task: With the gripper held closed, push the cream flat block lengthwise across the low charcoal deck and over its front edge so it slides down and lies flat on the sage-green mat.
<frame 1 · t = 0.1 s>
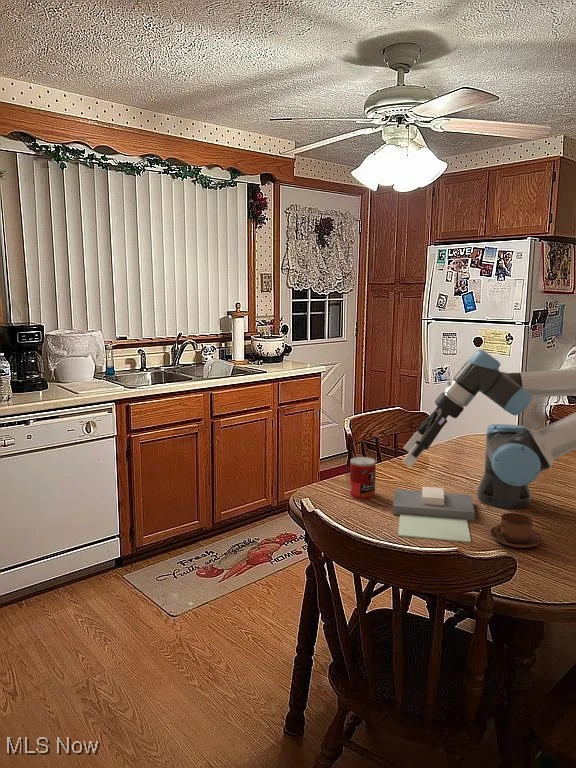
hand: (406, 457, 166), 15 cm above the table, tool tilted 35°, fingers open, 13 cm apart
sage mat: (433, 528, 154), on the table
charcoal deck: (432, 508, 168), on the table
canned food: (362, 495, 179), on the table
cream flat block: (432, 499, 168), point 2 cm above the table, touching charcoal deck
cup and saucer: (515, 542, 146), on the table
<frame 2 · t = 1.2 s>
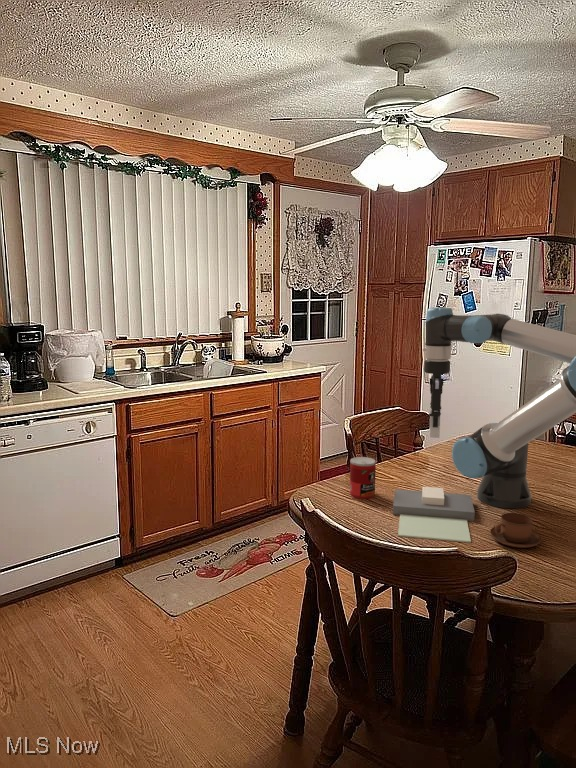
hand: (434, 433, 176), 19 cm above the table, tool pointing down, fingers open, 8 cm apart
nothing on the table moved.
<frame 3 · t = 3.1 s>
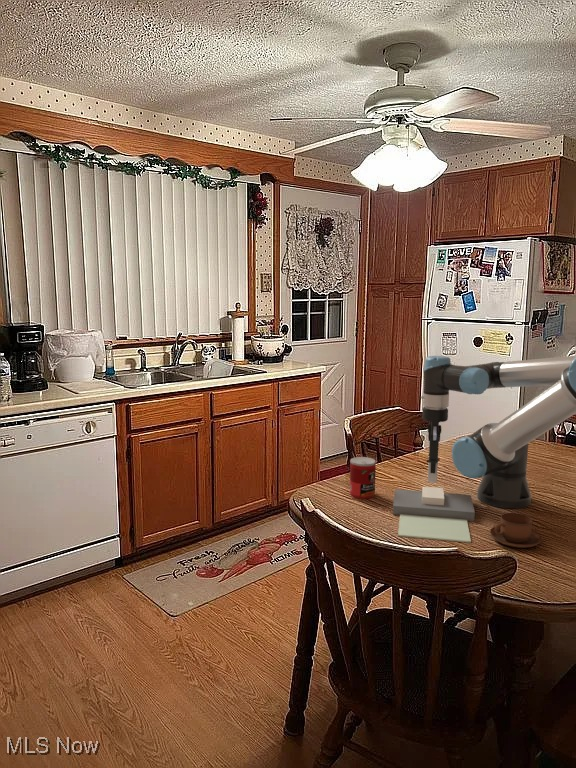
hand: (432, 482, 179), 4 cm above the table, tool pointing down, fingers closed
nothing on the table moved.
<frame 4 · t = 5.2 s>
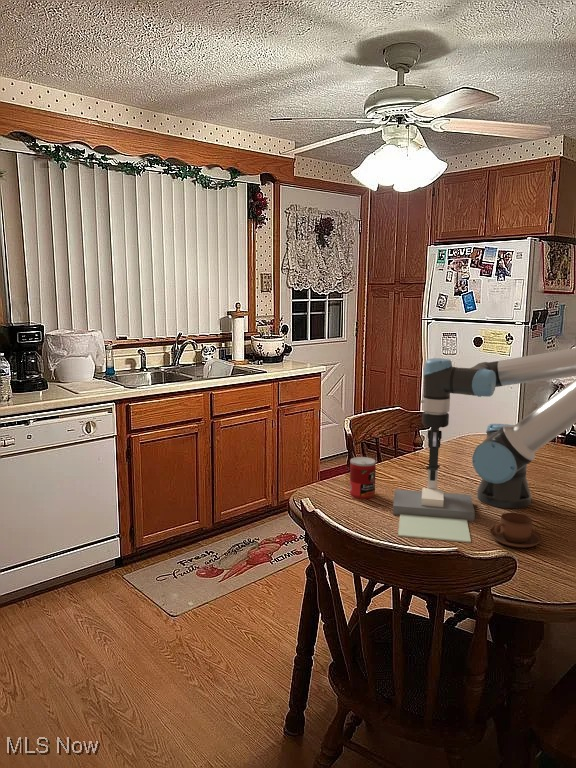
hand: (432, 489, 172), 4 cm above the table, tool pointing down, fingers closed
cream flat block: (432, 500, 167), point 3 cm above the table
everything else where it was.
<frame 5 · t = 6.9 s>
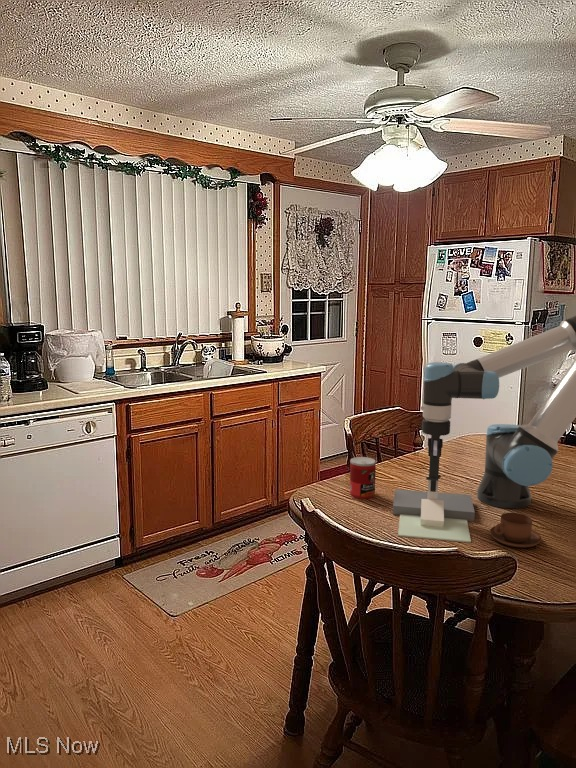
hand: (432, 501, 162), 4 cm above the table, tool pointing down, fingers closed
cream flat block: (432, 515, 158), point 2 cm above the table, tilted 17°, touching gripper, sage mat
everything else where it was.
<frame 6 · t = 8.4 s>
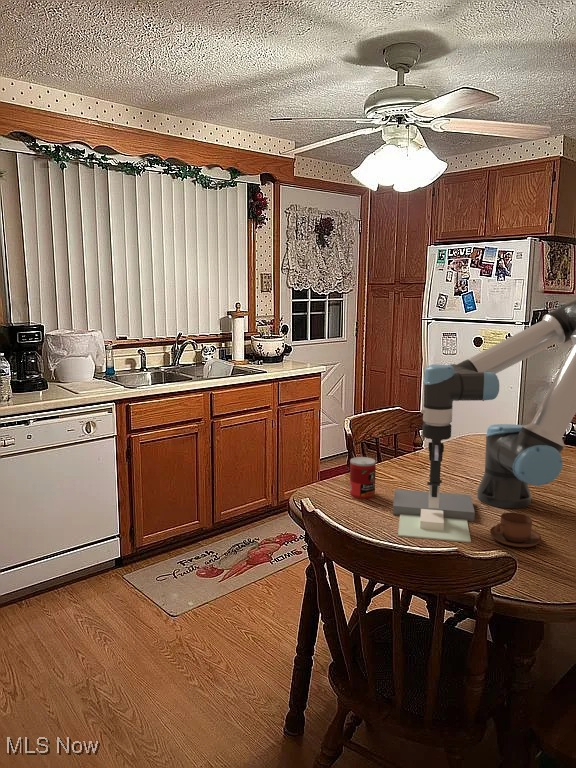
hand: (433, 506, 158), 4 cm above the table, tool pointing down, fingers closed
cream flat block: (431, 522, 156), resting on sage mat
everything else where it was.
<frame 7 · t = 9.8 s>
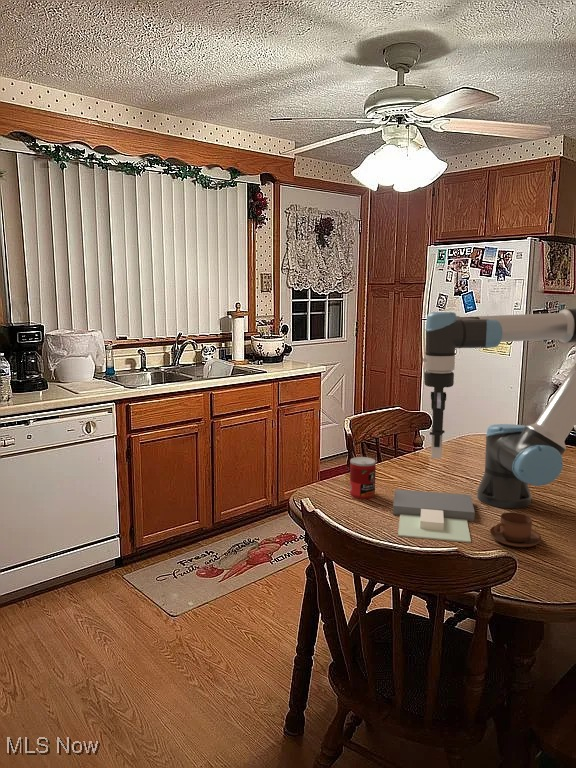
hand: (436, 457, 156), 18 cm above the table, tool pointing down, fingers closed
nothing on the table moved.
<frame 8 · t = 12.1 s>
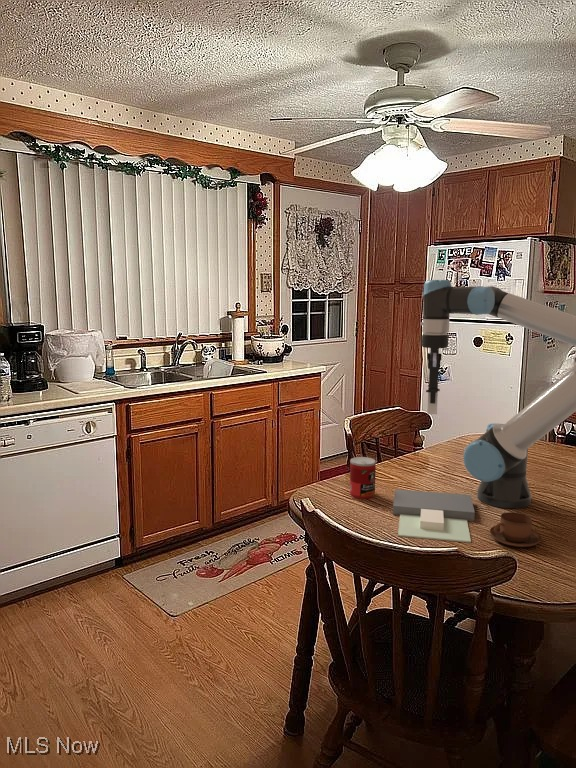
hand: (432, 413, 171), 26 cm above the table, tool pointing down, fingers closed
nothing on the table moved.
at the end: cream flat block inside the target area (4.8 cm from its centre), resting on sage mat; cream flat block tilted 0° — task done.
